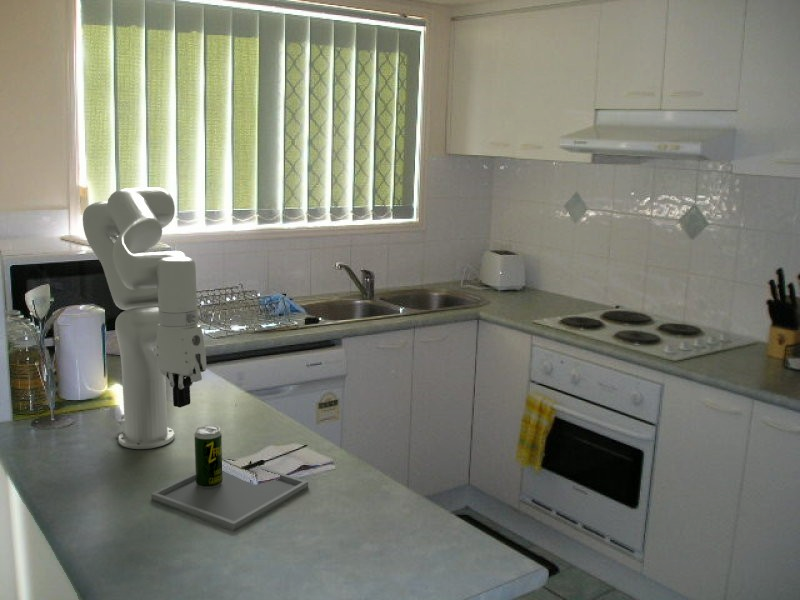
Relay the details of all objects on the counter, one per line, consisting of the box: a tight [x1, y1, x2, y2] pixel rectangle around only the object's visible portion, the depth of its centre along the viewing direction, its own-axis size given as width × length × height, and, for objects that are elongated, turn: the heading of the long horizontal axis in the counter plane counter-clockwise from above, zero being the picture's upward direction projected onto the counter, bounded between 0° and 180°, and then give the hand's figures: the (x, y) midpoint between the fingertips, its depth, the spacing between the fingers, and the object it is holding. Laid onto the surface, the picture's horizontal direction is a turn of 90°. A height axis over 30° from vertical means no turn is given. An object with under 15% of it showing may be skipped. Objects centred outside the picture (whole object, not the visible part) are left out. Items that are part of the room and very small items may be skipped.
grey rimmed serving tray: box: [150, 456, 309, 532], centre depth 167 cm, size 22×22×2 cm
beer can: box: [194, 424, 223, 489], centre depth 169 cm, size 5×5×12 cm
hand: (182, 405), depth 171 cm, fingers closed
